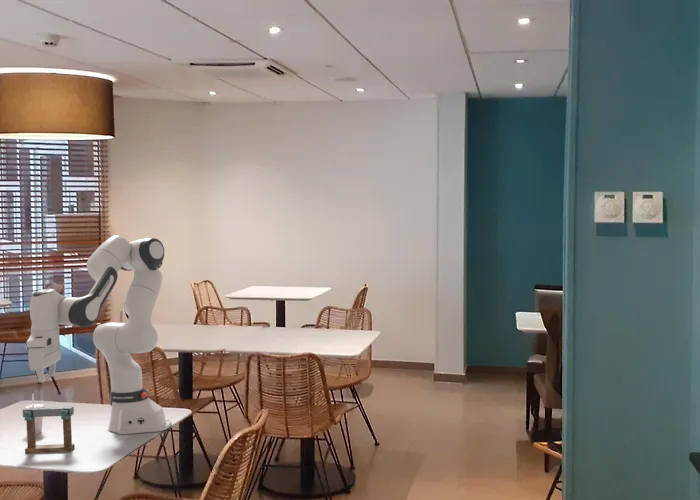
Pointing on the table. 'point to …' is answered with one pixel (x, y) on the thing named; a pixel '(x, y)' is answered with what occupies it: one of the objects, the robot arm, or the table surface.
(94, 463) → the table surface
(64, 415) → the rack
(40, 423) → the smoothie
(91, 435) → the table surface
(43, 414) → the rail
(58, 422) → the table surface
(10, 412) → the table surface
